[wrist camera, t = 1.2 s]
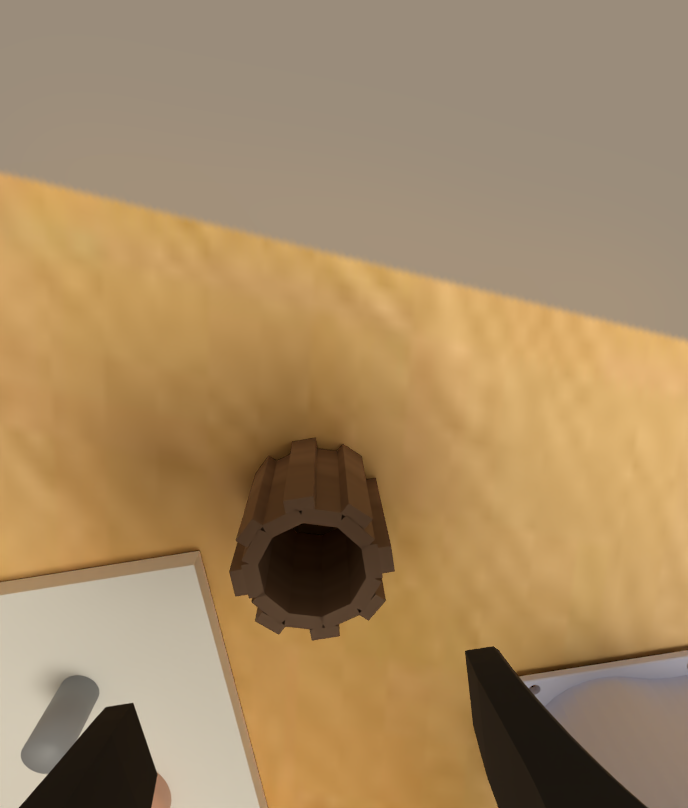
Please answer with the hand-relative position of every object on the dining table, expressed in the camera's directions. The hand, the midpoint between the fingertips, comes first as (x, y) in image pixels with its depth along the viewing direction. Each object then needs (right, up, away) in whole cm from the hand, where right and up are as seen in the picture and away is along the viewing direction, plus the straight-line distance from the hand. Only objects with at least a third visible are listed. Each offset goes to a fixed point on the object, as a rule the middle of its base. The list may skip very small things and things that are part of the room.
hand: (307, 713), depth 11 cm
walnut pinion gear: (0, +3, +10) cm, 10 cm away
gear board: (-10, -7, +12) cm, 17 cm away
